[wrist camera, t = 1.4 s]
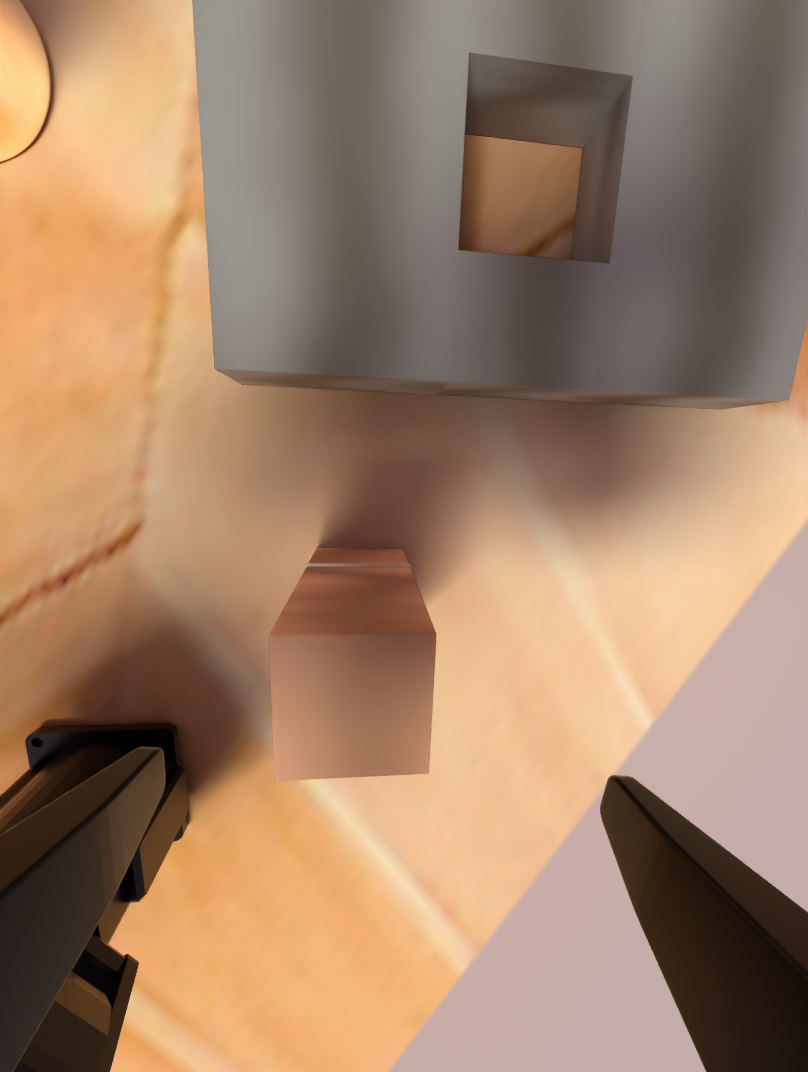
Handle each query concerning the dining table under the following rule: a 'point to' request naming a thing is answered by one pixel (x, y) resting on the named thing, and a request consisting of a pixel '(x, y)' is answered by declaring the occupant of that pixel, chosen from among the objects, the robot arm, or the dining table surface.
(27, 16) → the beer glass
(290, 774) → the peg
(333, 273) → the board
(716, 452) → the dining table surface
